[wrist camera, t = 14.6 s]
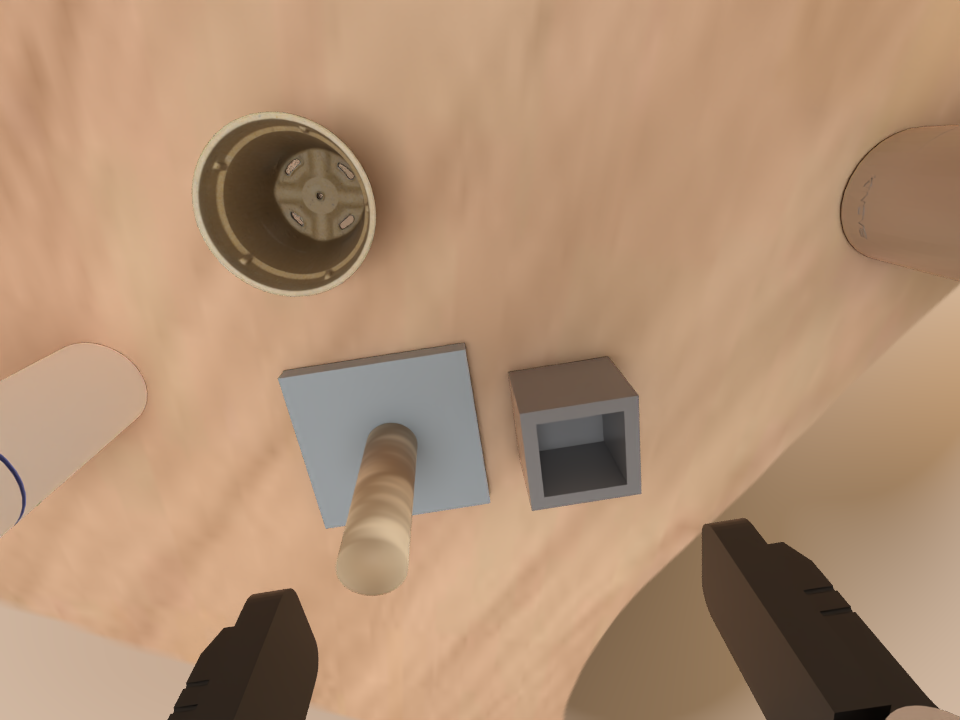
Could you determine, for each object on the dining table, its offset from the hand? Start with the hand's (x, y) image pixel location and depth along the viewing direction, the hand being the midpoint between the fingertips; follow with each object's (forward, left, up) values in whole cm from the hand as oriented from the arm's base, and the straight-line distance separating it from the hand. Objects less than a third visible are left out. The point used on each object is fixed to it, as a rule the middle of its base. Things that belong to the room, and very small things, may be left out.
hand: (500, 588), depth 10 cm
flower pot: (+9, -6, -30) cm, 32 cm away
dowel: (+8, +13, -28) cm, 32 cm away
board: (+8, +13, -30) cm, 33 cm away
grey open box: (-6, +13, -30) cm, 33 cm away
